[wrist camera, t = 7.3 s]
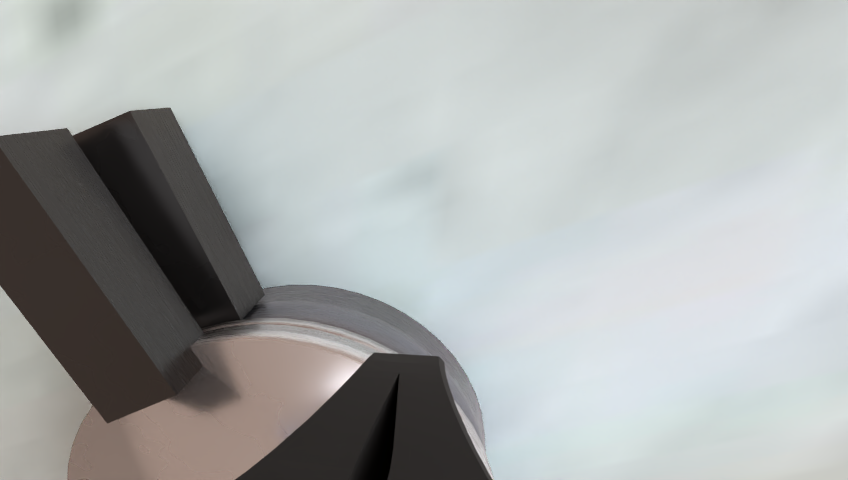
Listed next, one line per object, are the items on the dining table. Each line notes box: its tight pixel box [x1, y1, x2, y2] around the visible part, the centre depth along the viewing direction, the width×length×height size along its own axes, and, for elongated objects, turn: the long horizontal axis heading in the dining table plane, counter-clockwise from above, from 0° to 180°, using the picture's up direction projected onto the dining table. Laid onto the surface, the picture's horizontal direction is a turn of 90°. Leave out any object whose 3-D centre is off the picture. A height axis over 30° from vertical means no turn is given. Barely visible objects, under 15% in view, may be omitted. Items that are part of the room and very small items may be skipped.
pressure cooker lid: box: [0, 128, 494, 480], centre depth 15 cm, size 21×15×2 cm
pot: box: [73, 108, 489, 463], centre depth 18 cm, size 23×14×4 cm, turn 21°
